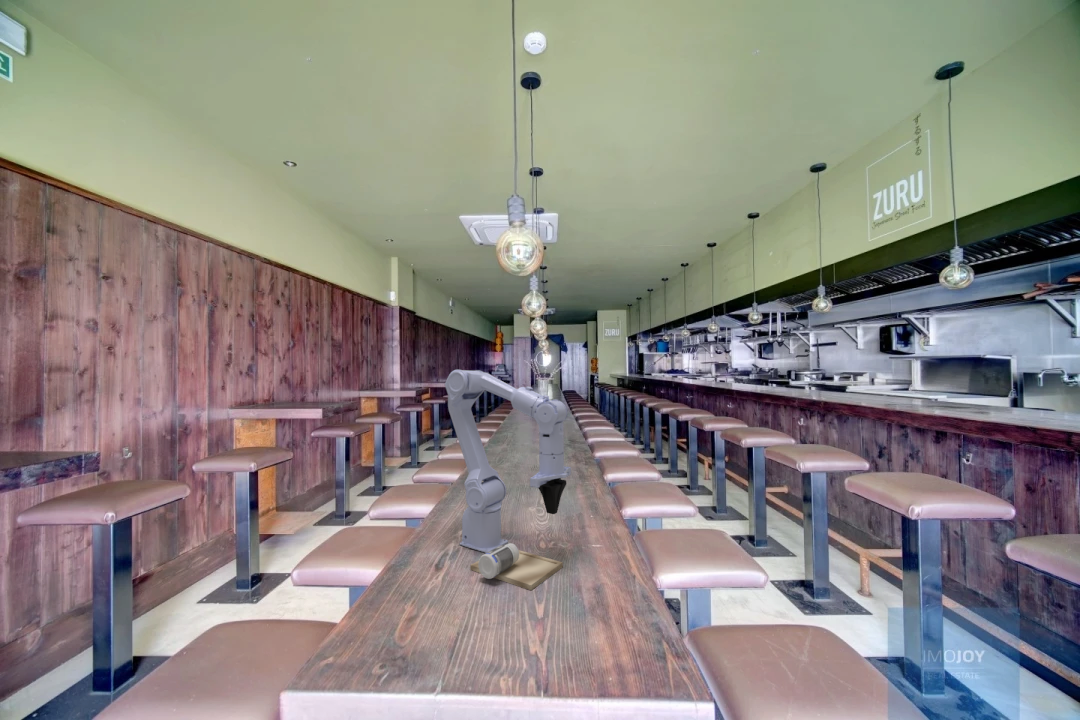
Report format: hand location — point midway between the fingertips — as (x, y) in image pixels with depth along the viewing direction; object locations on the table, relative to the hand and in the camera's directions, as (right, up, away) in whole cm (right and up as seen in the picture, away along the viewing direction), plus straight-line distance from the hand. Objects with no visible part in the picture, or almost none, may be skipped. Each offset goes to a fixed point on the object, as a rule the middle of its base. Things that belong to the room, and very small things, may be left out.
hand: (551, 512), depth 94 cm
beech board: (-8, -10, -5) cm, 14 cm away
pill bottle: (-14, -7, -12) cm, 19 cm away
